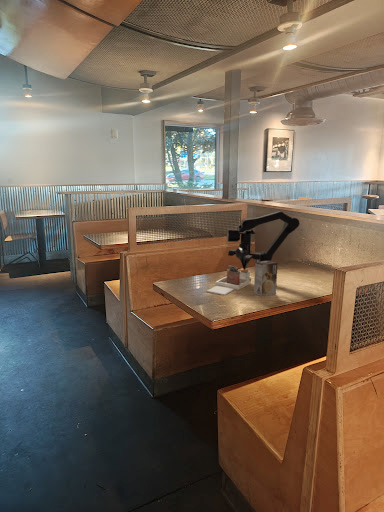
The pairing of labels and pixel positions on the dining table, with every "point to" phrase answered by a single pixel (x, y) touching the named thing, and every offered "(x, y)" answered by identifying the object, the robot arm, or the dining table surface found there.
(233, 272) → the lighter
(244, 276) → the holder
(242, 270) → the plunger
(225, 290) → the mat
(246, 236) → the robot arm
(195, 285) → the dining table surface
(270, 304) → the dining table surface
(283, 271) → the dining table surface
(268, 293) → the coffee box
